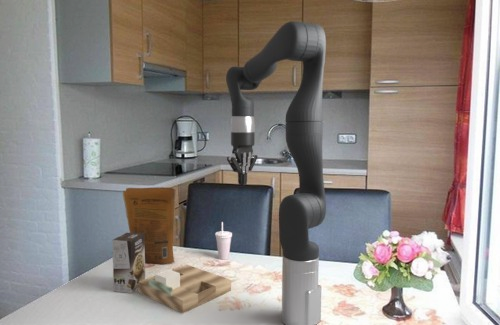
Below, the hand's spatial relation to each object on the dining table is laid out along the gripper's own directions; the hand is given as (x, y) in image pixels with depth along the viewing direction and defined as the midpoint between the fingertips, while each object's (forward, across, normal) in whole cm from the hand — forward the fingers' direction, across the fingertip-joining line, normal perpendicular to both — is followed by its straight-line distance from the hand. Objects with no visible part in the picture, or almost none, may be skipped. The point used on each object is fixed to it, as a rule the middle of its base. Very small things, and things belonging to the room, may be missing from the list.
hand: (242, 184), depth 130 cm
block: (+28, -26, +6) cm, 38 cm away
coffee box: (+31, -28, +22) cm, 47 cm away
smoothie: (+31, +10, +18) cm, 37 cm away
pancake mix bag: (+31, -10, +35) cm, 48 cm away
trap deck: (+31, -20, +6) cm, 37 cm away
